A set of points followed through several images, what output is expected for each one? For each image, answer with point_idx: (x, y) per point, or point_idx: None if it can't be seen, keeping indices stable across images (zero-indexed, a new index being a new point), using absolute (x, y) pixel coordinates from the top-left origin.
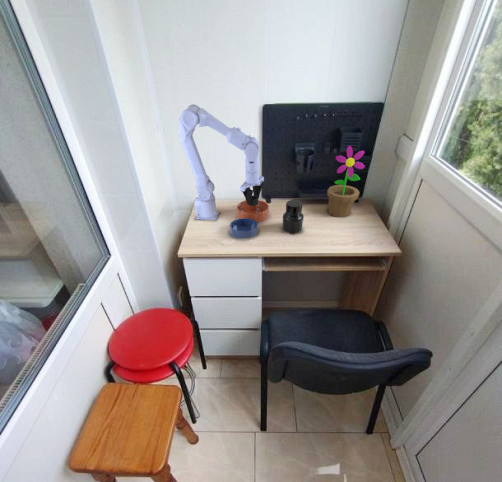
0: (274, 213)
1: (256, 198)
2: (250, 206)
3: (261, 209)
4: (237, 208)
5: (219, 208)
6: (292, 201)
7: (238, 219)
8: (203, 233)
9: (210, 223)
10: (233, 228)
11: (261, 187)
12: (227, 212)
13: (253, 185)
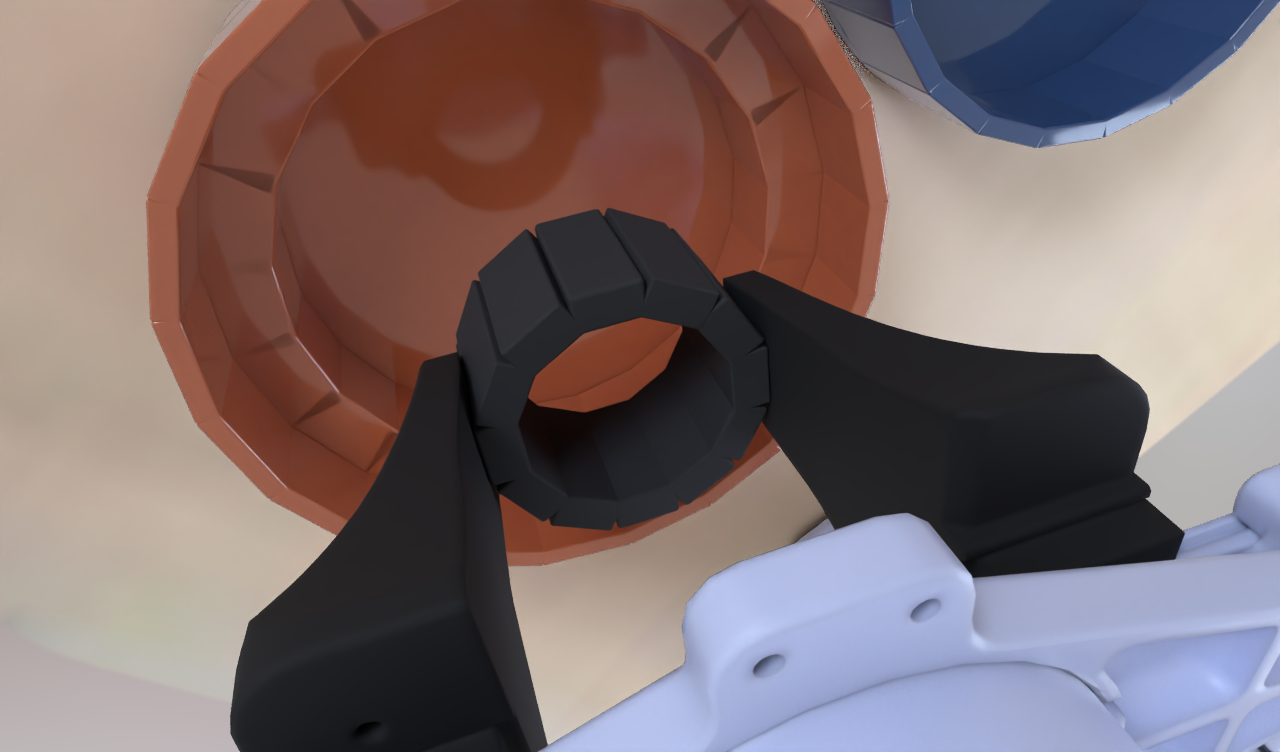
0: (13, 16)
1: (590, 327)
2: None
3: (283, 265)
4: None
5: None
6: None
7: (1009, 121)
8: (1254, 242)
9: None
10: (1045, 71)
11: (384, 567)
12: (712, 510)
13: (1053, 592)
